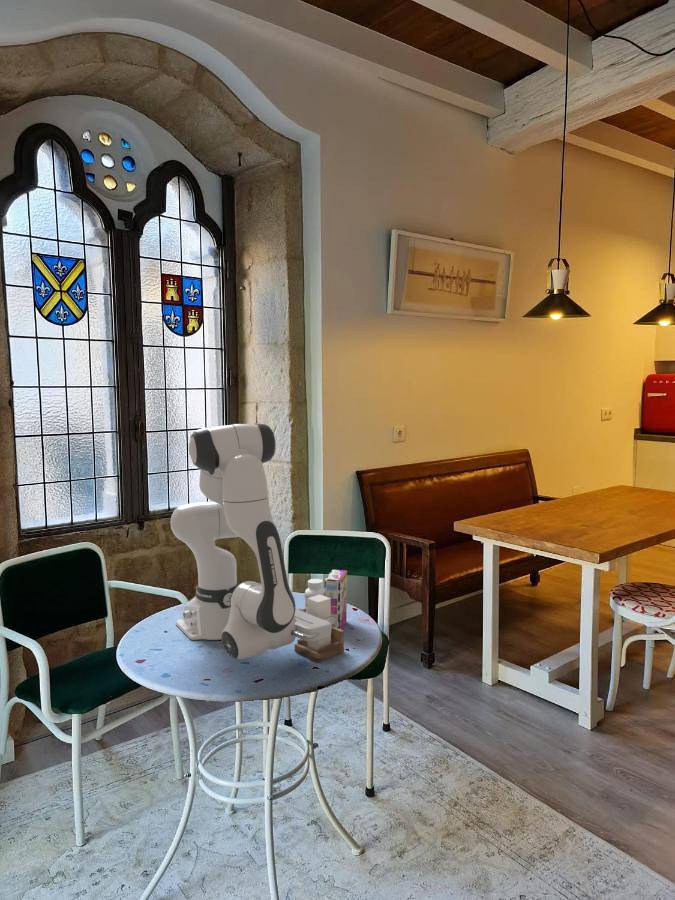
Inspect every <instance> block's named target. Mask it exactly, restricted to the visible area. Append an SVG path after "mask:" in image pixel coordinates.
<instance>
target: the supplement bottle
mask: <svg viewBox="0 0 675 900" xmlns="http://www.w3.org/2000/svg"><path fill="white" fill-rule="evenodd" d="M307 586H308V588H306V589H305V591H304V608H306V607H307V598H310V597H313V596H316V595H323V596H324V587H323V586H324V579H321V578H311V579H308V581H307Z"/></svg>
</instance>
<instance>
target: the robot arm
mask: <svg viewBox="0 0 675 900" xmlns="http://www.w3.org/2000/svg"><path fill="white" fill-rule="evenodd" d="M273 431H274V430H273V429H272V428H271V427H270V426H269V425H268V424H265V423H264V424H263V423H252V424H251V423H232V424H229V425H228V424H227V425H221V426H220V425H219V426H213V427H210V428H209V427H203V428H202V427H201V428H199V429H197V430H195V431H193V432H192V433H191V435H190V439H189V443H188V454H189V457H190V459H191V461H192V464H193V465H194V466H195V467H197V469H199V490H200V491H201V493H202V495H204V497H205V498H207V499H208V500H210V501H201V502H200V501H199V502H197V501H196V502H190V503H185V504H183V505H179V506H177V507H175V509H174V511H172V514H171V517H170V522H169V523H170V524H169V525H170V528H171V531H172V533H173V535H174V536H175V537H176V538H177V539H178V540H180V541H181V542H183V543H185V544H186V546H187V547H188V548H189V549H190V550H191V551H192V553H193V556H194V558H195V560H196V561H195V562H196V566H197V575H198V578H197V579H198V580H197V581H198V583H197V584H194V589H196V590H195V594H194V595H195V596H193V598H191V599H190V600H189V601H188V602H187V603H186V604H184V608H183V612H182V616H183V617H180V618H179V619H177V620H176V621H175V626H177V627H178V629H180V630H181V631H182V632H183V633H184V634H185V635H186V637H188V639H189V640H192V641H195V640H196V641H197V640H209V641H210V640H211V641H215V640H217V641H218V640H221V643H222V645H223V649H224V650H225V652H226V654H228V655H229V656H230V657H232V658H233V659H236V660H245V659H249V658H252V657H257V656H260V655H262V654H264V653H266V652H267V651H268V650H276V649H279V648H281V647H284V646H287V645H289V644H292V643H294V641H295V639H296V638H298V639H302V640H304V641H307V642H313V641H318V640H322V639H325V638H328V637H330V636H331V625H332V624H334V617H331V616H329V617H326V620H323V619H320V618H318V617H315V616H313V615H310V614H308V613H307V607H306V608H305V607H296V600H295V598H294V595H293V593H292V591H291V588H290V585H289V582H288V575H287V570H286V563H285V560H284V553H283V548H282V542H281V538H280V535H279V531H278V529H277V526H276V525H275V522H274V519H273V515H272V512H271V507H270V502H269V501H270V500H269V499H270V498H269V490H268V488H269V487H268V482H267V476H266V473H265V468H264V465H263V464H264V463H267V462H269V461H271V460H272V459H273V458H274V456H275V454H276V447H277V443H276V437H275V434H274V432H273ZM229 538H241V540H243V541H244V542H245V543H246V544H247V545H248V546H249V547H250V548H251V550H253V551H252V552H254V554H255V557H256V560H257V566H258V570H259V577H260V582H256V581H252V580H244V581H243V582H240V583H238V582H237V581H238V580H237V576H238V575H237V559H236V557H235V556H234V554H233V553H231V552H230V551H229V550H226V549H224V548H221V547H219V546H216V540H219V539H229ZM195 586H196V587H195Z"/></svg>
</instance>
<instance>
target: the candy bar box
mask: <svg viewBox="0 0 675 900" xmlns="http://www.w3.org/2000/svg"><path fill="white" fill-rule="evenodd" d="M323 582H324V585H323V586H324V587H323V588H324V596H325V597H328V598H331V617H334V624H332V625H331V626H334V627H336V628H338V629H341V630H343V628H344V627H345V625H346V623H347V613H348V612H347V611H348V610H347V606H348V605H347V604H348V603H347V602H348V600H347V599H348V597H347V594H348V590H347V589H348V570H345V569H344V570H343V569H332V570H331V571H330V572H329V573H328V575H327V576H326V577H325V579H323Z"/></svg>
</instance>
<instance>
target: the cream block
mask: <svg viewBox="0 0 675 900" xmlns="http://www.w3.org/2000/svg"><path fill="white" fill-rule="evenodd" d="M307 613H308V614H310V615H313V616H315V617H318V618H320V619H323V620H326V617H329V616H331V598H328V597H325V596H323V595H316V596H313V597H310V598H307ZM330 644H331V636H330V637H328V638H325V639H322V640H318V641H313V642H308V648H309V649H311V650H313V651H315V652H317V653H318V649H320V648H322V647H325V646H328V645H330Z"/></svg>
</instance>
